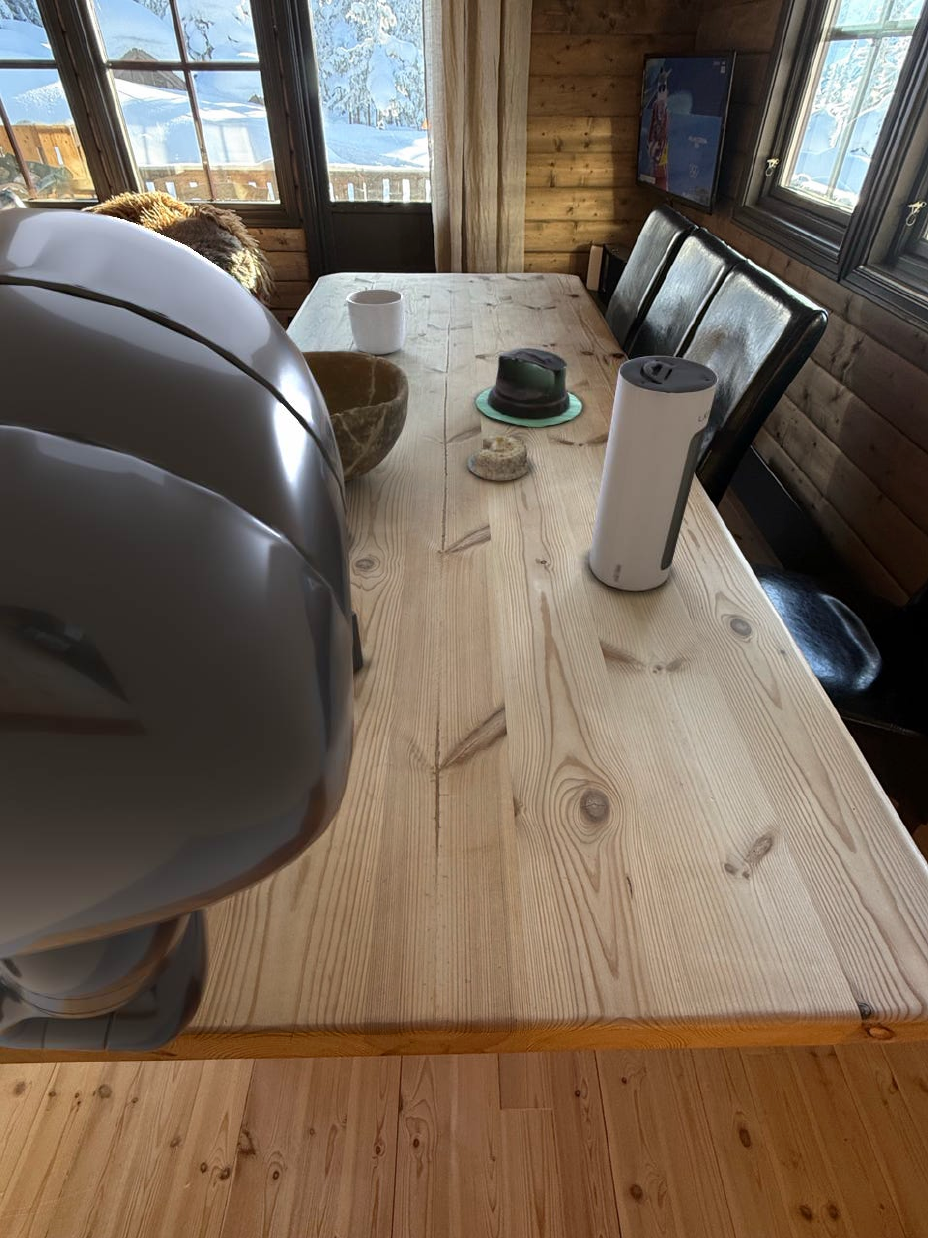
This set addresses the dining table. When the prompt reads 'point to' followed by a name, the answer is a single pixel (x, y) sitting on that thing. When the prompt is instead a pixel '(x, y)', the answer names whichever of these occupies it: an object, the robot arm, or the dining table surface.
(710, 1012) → the dining table surface
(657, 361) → the speaker
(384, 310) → the planter
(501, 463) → the cake
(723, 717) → the dining table surface
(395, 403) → the bowl
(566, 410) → the fedora hat
